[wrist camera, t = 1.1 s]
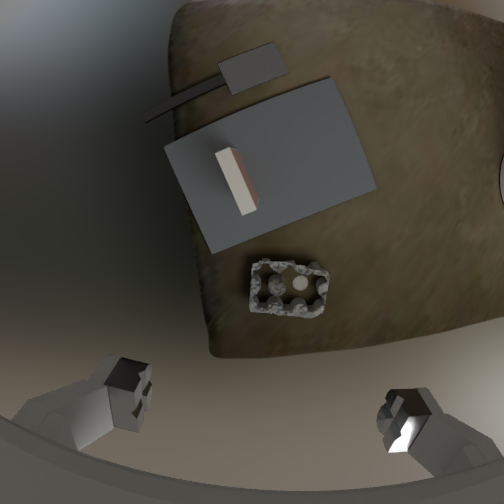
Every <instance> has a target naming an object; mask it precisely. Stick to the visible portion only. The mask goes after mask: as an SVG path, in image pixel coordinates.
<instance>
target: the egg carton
mask: <svg viewBox="0 0 504 504" xmlns="http://www.w3.org/2000/svg"><path fill="white" fill-rule="evenodd" d="M263 263H268V264H269V265H270V267H271V268H272V269H273V270H274V271H276V272H278V273H281V272H282V271H283V270H285V269H286V268H287V266H288V265H291V266H293V268H294V270H295V271H296V272H298V273H300V274H304V275H305V276H306V275H309V274H314V275H319V276H324V277H321V278H319V279H318V280H317V282H316V288H317V291H318V294H319V295H320V296H321V298H319V299H317V300H315V302H314V303H313V305H306V302H305V300H304V299H303V298H300V297H297V298H294V299H293V300H292V301H291V302H290V304H283V302H282V299H281V298H280V297H278V296H280V295H281V294H283V293H284V292H285V290H286V285H285V280H284V277H283V276H281V275H280V274H274V275H272V276H270V278H269V280H268V289H269V291H270V293H271V294H273V295H274V296H271V297H270V298H269V299H268V300H267V302H266V303H263V302H259V299H258V297H257V296H256V295H257V293H258V291H259V290H260V289H261V278H260V276H259V275H258V274H257V273H254V272H253V271H254V270H258V269H260V267H261V265H262V264H263ZM330 273H331V272H327V271H326V270H324V269H322V268H320V265H319V263H318V262H311V263H310V264H309V266H308V267H307V266H303V265H296V264H295V261H294V260H290V261H286V262H271V261H270V259H268V258H263V259H262V261H259V262H258V263H253V264H252V272H251V277H252V280H251V289H250V300H249V301H250V311H251V312H260V313H264V312H266V313H270V314H272V313H274V314H276V315H287V316H298V317H304V318H314V317H316V316H318V315H319V314H321V313H323V311H324V306H325V301H326V295H327V290H328V285H329V279H330ZM305 276H302V275H301V276H297V277H295V278H294V279H293V282H292V284H293V287H294V288H295V289H297V290H304V289H305V288H306V287H307V286H308V280H307V278H306V277H305Z"/></svg>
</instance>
